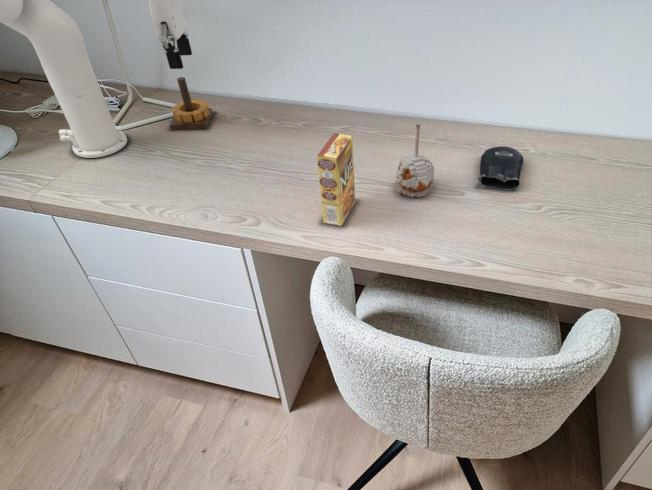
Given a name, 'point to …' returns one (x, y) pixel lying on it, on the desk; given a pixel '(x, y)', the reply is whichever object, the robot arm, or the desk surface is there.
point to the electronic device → (500, 168)
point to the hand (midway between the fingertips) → (181, 61)
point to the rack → (189, 108)
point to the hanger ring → (198, 114)
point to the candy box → (336, 178)
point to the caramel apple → (415, 172)
